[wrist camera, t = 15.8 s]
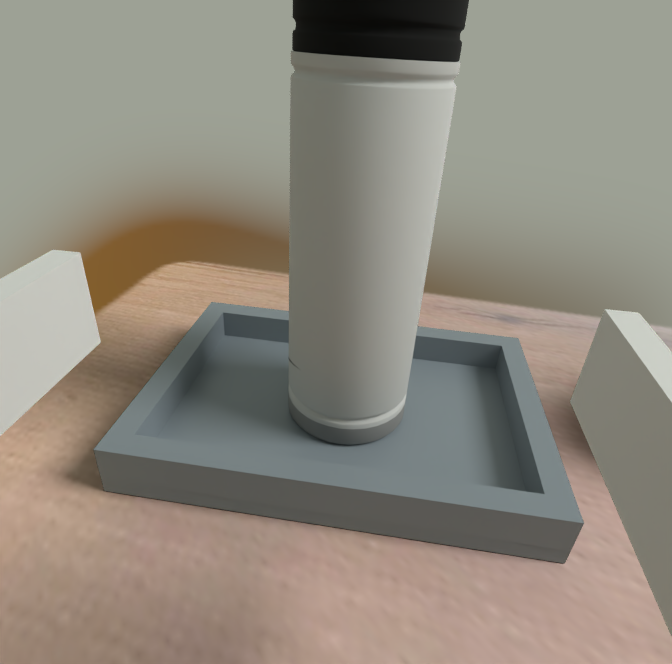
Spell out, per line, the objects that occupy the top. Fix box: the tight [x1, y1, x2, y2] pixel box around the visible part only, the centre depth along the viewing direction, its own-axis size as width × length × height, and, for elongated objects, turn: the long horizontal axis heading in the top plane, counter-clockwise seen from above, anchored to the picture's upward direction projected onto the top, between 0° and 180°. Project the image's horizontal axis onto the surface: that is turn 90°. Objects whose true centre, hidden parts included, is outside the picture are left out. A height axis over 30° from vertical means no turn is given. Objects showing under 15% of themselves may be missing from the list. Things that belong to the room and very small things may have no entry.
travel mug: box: [288, 0, 469, 445], centre depth 21 cm, size 6×7×20 cm
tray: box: [93, 302, 584, 563], centre depth 26 cm, size 20×14×2 cm
